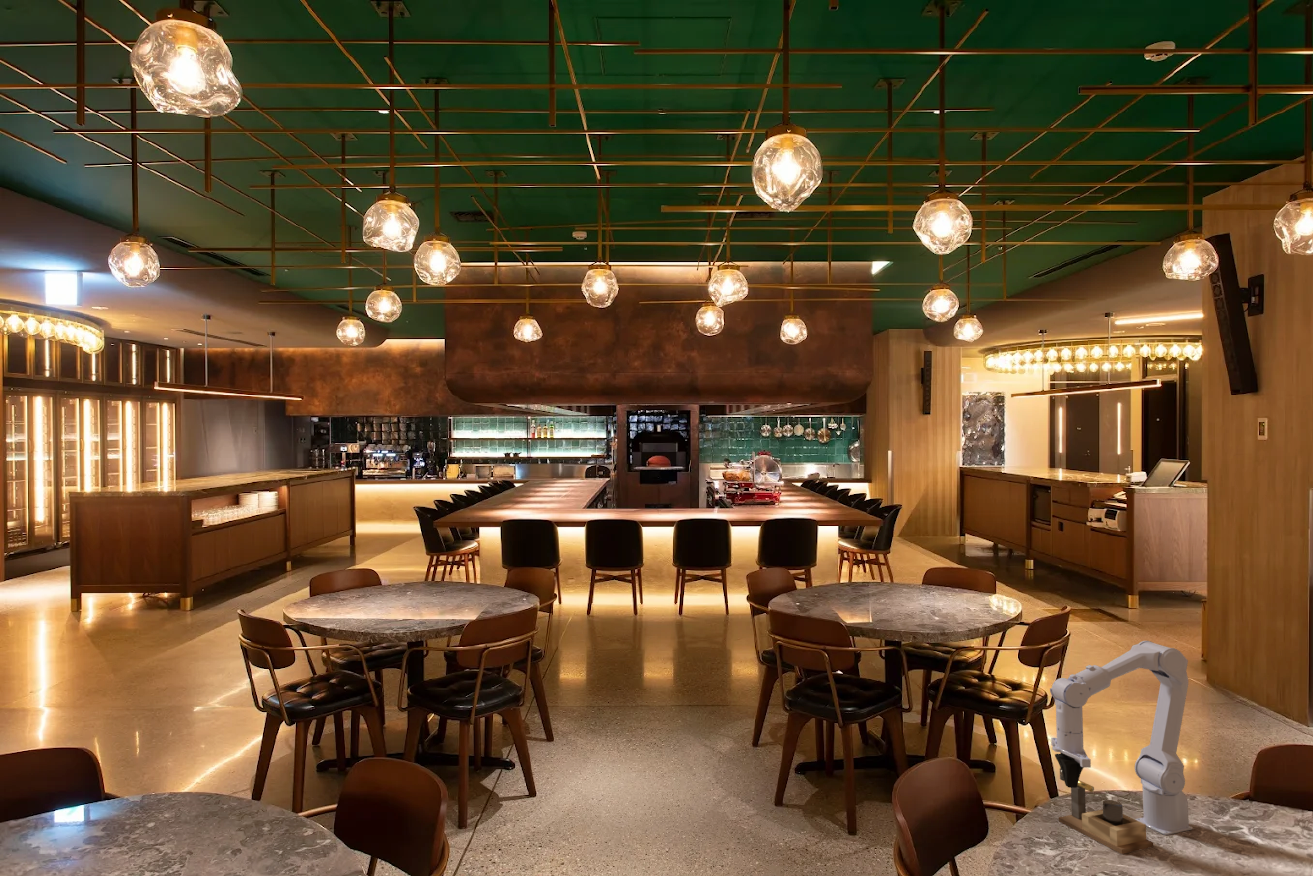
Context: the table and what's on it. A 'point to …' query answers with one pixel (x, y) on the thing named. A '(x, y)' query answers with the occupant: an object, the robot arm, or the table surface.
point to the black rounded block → (1113, 812)
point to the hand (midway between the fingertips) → (1071, 786)
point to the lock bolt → (1080, 783)
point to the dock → (1105, 826)
